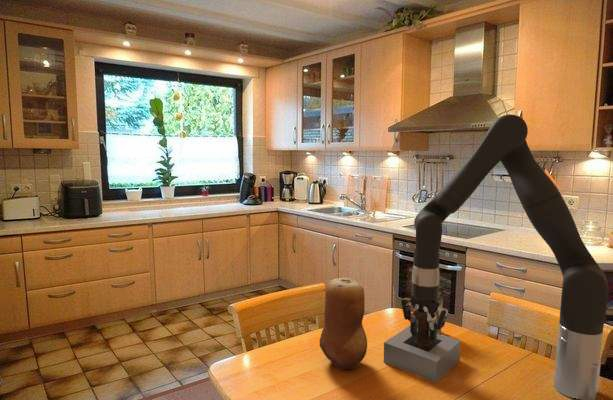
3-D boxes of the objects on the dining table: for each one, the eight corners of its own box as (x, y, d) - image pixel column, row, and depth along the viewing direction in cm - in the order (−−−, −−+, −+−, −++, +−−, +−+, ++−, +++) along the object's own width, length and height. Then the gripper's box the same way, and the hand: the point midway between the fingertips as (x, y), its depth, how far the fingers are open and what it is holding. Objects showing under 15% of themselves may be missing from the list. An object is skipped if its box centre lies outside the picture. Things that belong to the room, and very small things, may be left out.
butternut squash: (375, 363, 119) (378, 279, 116) (350, 383, 109) (352, 292, 106) (336, 347, 128) (337, 270, 125) (309, 365, 118) (310, 281, 115)
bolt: (431, 355, 123) (432, 307, 121) (434, 364, 118) (436, 314, 116) (411, 354, 123) (412, 306, 122) (413, 363, 118) (414, 313, 117)
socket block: (459, 360, 121) (460, 340, 121) (435, 383, 110) (436, 361, 109) (409, 342, 132) (410, 324, 131) (383, 361, 120) (384, 342, 119)
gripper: (455, 283, 115) (452, 341, 118) (408, 272, 125) (406, 326, 127) (444, 290, 110) (441, 350, 112) (396, 278, 119) (394, 334, 122)
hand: (423, 337), depth 120 cm, fingers open, 5 cm apart
